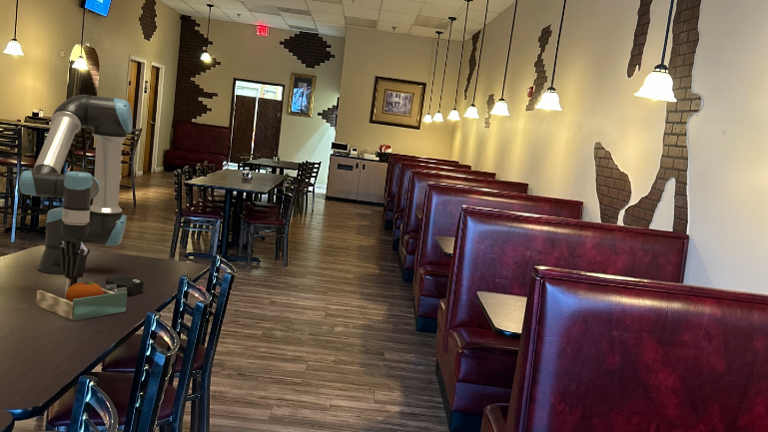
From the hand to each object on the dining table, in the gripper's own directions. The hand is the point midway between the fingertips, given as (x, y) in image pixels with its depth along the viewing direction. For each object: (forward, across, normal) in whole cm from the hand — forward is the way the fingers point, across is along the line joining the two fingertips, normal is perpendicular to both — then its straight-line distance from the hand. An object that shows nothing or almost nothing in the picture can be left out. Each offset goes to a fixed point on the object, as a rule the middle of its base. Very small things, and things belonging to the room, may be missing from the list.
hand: (70, 298), depth 199 cm
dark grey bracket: (+2, +6, +11) cm, 13 cm away
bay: (+2, +6, 0) cm, 6 cm away
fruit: (+2, +7, 0) cm, 7 cm away
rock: (+2, -2, +21) cm, 21 cm away
